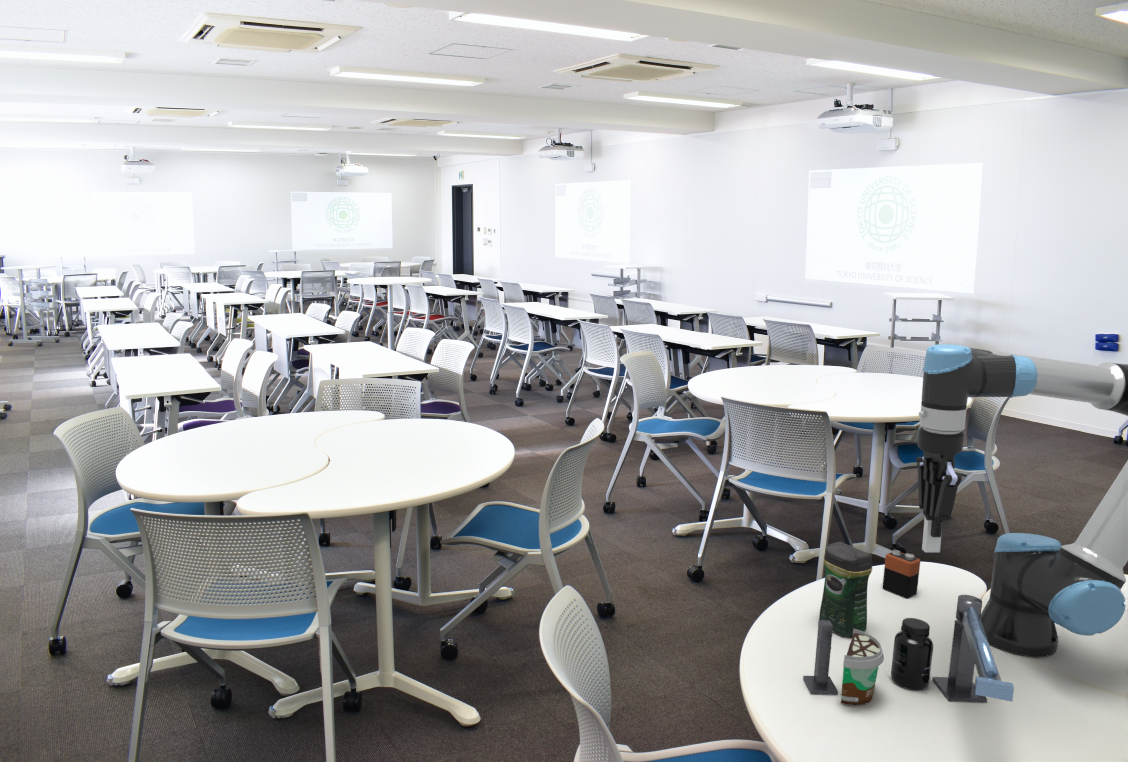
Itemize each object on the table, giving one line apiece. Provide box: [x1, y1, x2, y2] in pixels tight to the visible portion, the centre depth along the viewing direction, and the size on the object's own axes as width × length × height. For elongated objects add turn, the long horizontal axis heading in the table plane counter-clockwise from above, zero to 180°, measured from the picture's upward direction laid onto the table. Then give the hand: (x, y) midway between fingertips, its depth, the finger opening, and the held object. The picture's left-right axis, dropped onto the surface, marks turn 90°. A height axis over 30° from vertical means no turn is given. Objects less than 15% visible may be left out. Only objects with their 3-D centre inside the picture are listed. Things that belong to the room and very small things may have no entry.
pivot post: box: [931, 619, 988, 704], centre depth 147 cm, size 7×7×14 cm
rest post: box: [802, 619, 839, 696], centre depth 147 cm, size 5×5×13 cm
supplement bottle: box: [890, 617, 934, 691], centre depth 150 cm, size 7×7×12 cm
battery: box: [882, 549, 921, 599], centre depth 190 cm, size 4×7×10 cm, turn 36°
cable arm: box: [955, 594, 1015, 702], centre depth 133 cm, size 30×5×4 cm, turn 160°
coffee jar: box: [818, 541, 873, 637], centre depth 170 cm, size 10×8×19 cm
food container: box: [840, 629, 885, 706], centre depth 145 cm, size 12×6×10 cm, turn 152°
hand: (930, 550), depth 149 cm, fingers closed
